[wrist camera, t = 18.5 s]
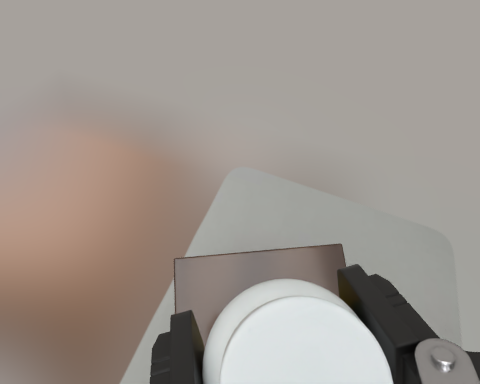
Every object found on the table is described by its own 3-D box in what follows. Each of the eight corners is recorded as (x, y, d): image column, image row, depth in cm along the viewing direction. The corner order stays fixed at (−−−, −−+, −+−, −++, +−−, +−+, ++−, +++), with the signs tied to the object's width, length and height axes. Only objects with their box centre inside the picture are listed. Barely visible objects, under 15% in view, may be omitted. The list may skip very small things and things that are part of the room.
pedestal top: (333, 249, 22) (342, 243, 20) (366, 430, 19) (379, 442, 17) (179, 262, 22) (173, 258, 20) (184, 447, 19) (177, 462, 17)
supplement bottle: (195, 341, 17) (138, 369, 8) (276, 269, 18) (306, 221, 9) (269, 440, 15) (302, 613, 6) (352, 355, 17) (478, 401, 8)
